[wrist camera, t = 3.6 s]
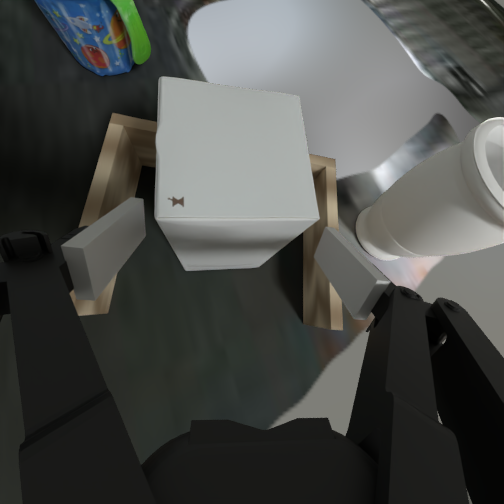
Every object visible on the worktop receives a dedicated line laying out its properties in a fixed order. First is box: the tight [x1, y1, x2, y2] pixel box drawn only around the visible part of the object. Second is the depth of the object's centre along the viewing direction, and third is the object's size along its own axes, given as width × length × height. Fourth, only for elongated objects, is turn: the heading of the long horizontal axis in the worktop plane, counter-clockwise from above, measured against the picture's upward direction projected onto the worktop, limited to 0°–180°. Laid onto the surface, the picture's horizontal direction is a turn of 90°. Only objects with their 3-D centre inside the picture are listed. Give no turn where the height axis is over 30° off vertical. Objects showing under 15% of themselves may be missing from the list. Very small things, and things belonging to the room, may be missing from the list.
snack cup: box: [34, 0, 151, 76], centre depth 24 cm, size 16×10×10 cm
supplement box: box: [154, 76, 320, 271], centre depth 19 cm, size 9×9×15 cm
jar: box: [356, 117, 504, 261], centre depth 23 cm, size 11×10×15 cm
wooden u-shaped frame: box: [70, 113, 343, 330], centre depth 23 cm, size 19×24×6 cm
